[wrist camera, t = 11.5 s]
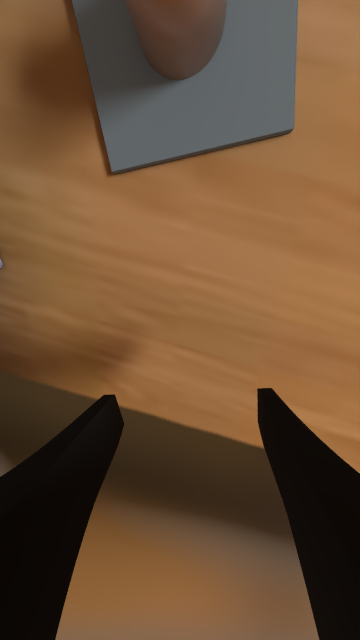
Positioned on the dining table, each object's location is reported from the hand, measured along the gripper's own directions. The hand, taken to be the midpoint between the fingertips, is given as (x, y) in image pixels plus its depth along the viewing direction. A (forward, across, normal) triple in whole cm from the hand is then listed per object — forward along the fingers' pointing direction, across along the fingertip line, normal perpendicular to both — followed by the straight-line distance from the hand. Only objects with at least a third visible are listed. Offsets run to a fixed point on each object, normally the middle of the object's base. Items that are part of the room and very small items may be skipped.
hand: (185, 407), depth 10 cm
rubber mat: (+9, -2, -19) cm, 21 cm away
